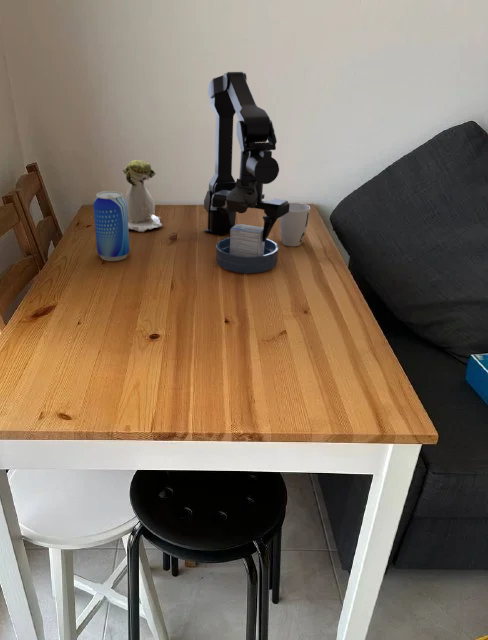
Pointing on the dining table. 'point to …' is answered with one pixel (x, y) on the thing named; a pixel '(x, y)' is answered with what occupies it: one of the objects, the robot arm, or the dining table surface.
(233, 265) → the bowl
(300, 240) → the cup
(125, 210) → the beer can
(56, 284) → the dining table surface
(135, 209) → the white figurine
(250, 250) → the medicine box
